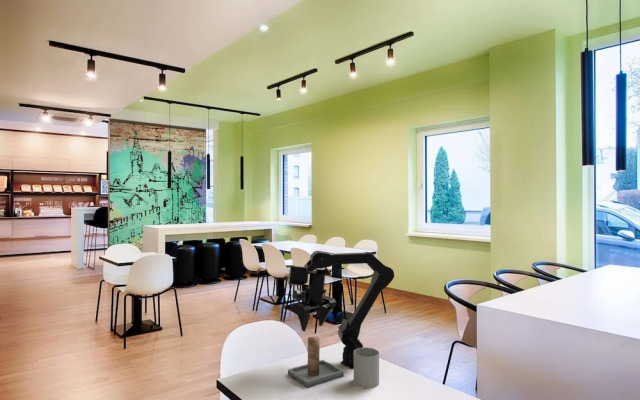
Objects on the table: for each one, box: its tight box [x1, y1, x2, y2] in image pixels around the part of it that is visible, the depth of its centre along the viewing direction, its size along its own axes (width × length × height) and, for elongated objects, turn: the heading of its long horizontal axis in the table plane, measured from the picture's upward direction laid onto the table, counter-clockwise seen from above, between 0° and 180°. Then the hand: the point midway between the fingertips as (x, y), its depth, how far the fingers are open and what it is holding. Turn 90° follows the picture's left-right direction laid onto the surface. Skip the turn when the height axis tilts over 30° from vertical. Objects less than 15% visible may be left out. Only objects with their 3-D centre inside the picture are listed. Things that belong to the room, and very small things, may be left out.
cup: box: [353, 347, 380, 389], centre depth 133 cm, size 8×8×10 cm
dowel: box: [307, 336, 321, 376], centre depth 137 cm, size 4×4×12 cm
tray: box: [287, 359, 345, 389], centre depth 138 cm, size 15×12×2 cm
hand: (312, 328), depth 146 cm, fingers open, 9 cm apart
